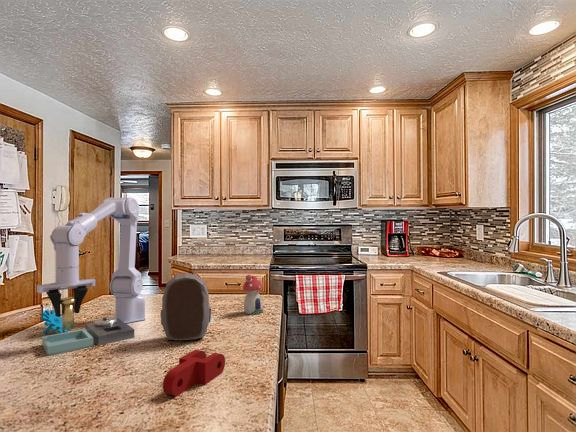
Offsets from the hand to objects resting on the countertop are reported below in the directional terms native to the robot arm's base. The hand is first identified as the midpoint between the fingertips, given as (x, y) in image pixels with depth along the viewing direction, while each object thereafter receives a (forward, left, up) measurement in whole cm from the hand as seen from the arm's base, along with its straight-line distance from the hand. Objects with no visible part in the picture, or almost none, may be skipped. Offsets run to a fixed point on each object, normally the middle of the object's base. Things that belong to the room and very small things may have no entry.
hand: (67, 314), depth 105 cm
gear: (0, -16, -9) cm, 19 cm away
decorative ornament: (-62, +5, -9) cm, 62 cm away
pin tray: (0, 0, -9) cm, 9 cm away
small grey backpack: (-29, +16, -9) cm, 34 cm away
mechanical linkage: (-17, +45, -10) cm, 49 cm away
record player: (-41, -2, -10) cm, 42 cm away
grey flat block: (-12, -3, -9) cm, 15 cm away
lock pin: (0, 0, -4) cm, 4 cm away
